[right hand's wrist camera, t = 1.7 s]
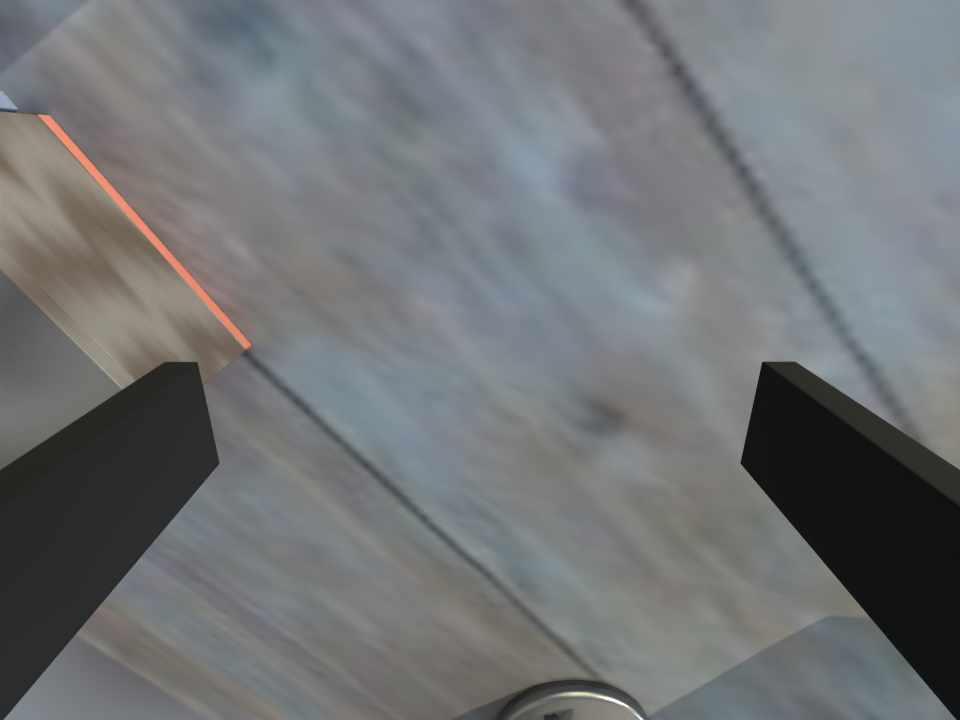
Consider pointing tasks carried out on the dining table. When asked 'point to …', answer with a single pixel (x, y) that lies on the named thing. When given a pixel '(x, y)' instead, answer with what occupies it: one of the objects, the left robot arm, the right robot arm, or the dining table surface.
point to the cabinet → (84, 291)
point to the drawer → (6, 104)
